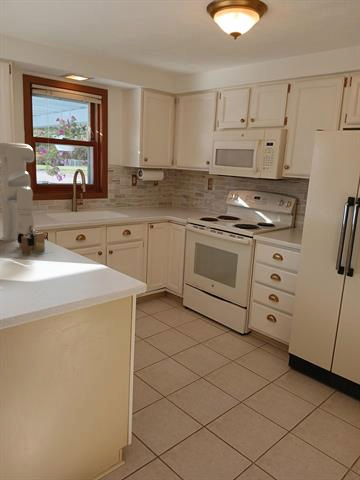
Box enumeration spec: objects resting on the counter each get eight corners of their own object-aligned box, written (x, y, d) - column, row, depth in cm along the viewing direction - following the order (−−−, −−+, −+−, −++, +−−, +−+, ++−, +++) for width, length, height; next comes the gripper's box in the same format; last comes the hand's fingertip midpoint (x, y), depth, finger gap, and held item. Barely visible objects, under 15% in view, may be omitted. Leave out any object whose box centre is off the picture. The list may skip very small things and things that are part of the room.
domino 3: (34, 251, 201) (34, 233, 199) (42, 250, 205) (42, 232, 203) (36, 252, 200) (36, 234, 198) (44, 250, 204) (44, 233, 202)
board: (15, 247, 209) (15, 246, 209) (29, 245, 216) (29, 244, 216) (40, 255, 196) (40, 254, 195) (53, 253, 202) (53, 252, 202)
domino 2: (29, 249, 204) (28, 232, 202) (37, 248, 208) (37, 231, 206) (31, 250, 203) (30, 232, 201) (39, 249, 207) (39, 231, 205)
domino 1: (27, 256, 192) (26, 237, 190) (21, 254, 195) (21, 236, 193) (30, 256, 194) (30, 237, 192) (25, 254, 197) (24, 236, 195)
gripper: (9, 210, 192) (10, 242, 195) (27, 214, 182) (28, 247, 185) (22, 209, 198) (23, 240, 201) (41, 213, 188) (42, 245, 191)
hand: (26, 244), depth 193 cm, fingers open, 9 cm apart
